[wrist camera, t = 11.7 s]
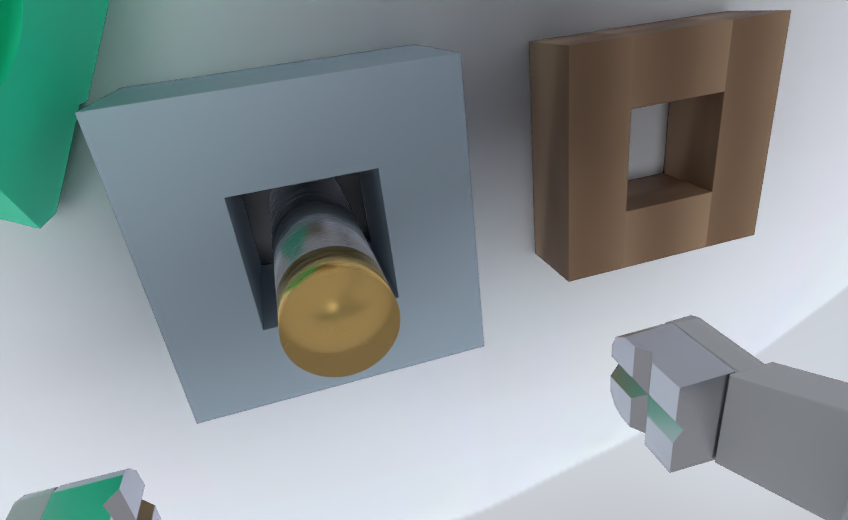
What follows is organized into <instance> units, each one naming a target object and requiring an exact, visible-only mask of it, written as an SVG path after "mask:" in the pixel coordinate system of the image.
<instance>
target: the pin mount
mask: <svg viewBox="0 0 848 520" xmlns="http://www.w3.org/2000/svg"><path fill="white" fill-rule="evenodd" d="M790 13H791V10H775V11H725V12H718V13H712V14H705V15H699V16H692V17H686V18H679V19H673V20H666V21H660V22H653V23H647V24H640V25H634V26H628V27H621V28H615V29H608V30H602V31H595V32H589V33H582V34H576V35H569V36H563V37H556V38H550V39H543V40H537V41H530V42H529V54H530V88H531V122H532V156H533V191H534V225H535V253H536V254H537V255H538V256H539V257H540V258H541V259H543V260H544V261H545V262H546V263H547V264H549V265H550V266H551V267H552V268H553V269H554V270H556V271H557V272H558V273H559V274H560V275H561V276H563V277H564V278H565V279H566V280H567V281H573V280H577V279H581V278H585V277H589V276H593V275H597V274H601V273H605V272H609V271H613V270H617V269H621V268H625V267H629V266H633V265H637V264H641V263H644V262H648V261H652V260H656V259H660V258H664V257H668V256H672V255H676V254H680V253H684V252H688V251H692V250H696V249H700V248H704V247H708V246H712V245H716V244H719V243H723V242H727V241H731V240H735V239H739V238H743V237H747V236H751V235H754V232H755V226H756V220H757V214H758V208H759V202H760V196H761V190H762V184H763V178H764V172H765V166H766V159H767V153H768V147H769V141H770V135H771V129H772V123H773V117H774V111H775V105H776V99H777V92H778V86H779V80H780V74H781V68H782V62H783V56H784V50H785V44H786V38H787V32H788V26H789V19H790ZM666 102H670V103H669V116H668V128H667V140H666V153H665V165H664V173H663V174H658V175H653V176H649V177H644V178H640V179H635V180H631V181H628V162H629V142H630V122H631V109H634V108H640V107H645V106H650V105H655V104H661V103H666Z"/></svg>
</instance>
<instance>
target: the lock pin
mask: <svg viewBox="0 0 848 520" xmlns="http://www.w3.org/2000/svg"><path fill="white" fill-rule="evenodd" d="M269 208H270V221H271V234H272V248H273V261H274V274H275V288H276V301H277V314H278V328H279V337H280V342H281V345H282V347H283V349H284V351H285V353H286V355H287V356H288V357H289V359H290V360H291V361H292V362H293V363H294V364H295V365H297V366H298V367H300V368H301V369H303V370H305V371H307V372H309V373H311V374H314V375H318V376H323V377H345V376H350V375H353V374H357V373H360V372H362V371H364V370H366V369H368V368H370V367H372V366H373V365H375V364H376V363H377V362H379V361H380V360H381V359H382V358H383V357H384V356H385V355H386V354H387V353H388V352H389V350H390V349H391V347H392V346H393V344H394V342H395V340H396V338H397V335H398V333H399V328H400V320H401V318H400V310H399V306H398V303H397V301H396V298H395V296H394V294H393V292H392V290H391V288H390V286H389V284H388V282H387V280H386V278H385V276H384V274H383V272H382V270H381V268H380V266H379V264H378V262H377V260H376V258H375V256H374V254H373V252H372V250H371V248H370V246H369V244H368V242H367V240H366V238H365V236H364V234H363V232H362V230H361V228H360V226H359V224H358V222H357V220H356V218H355V216H354V214H353V212H352V210H351V208H350V206H349V204H348V202H347V200H346V197H345V195H344V193H343V191H342V189H341V187H340V186H339V184H338V182H337V181H336V180H335V178H334V177H330V178H324V179H319V180H314V181H309V182H304V183H298V184H293V185H288V186H283V187H278V188H273V189H271V192H270V196H269Z"/></svg>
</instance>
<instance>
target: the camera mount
mask: <svg viewBox="0 0 848 520" xmlns="http://www.w3.org/2000/svg"><path fill="white" fill-rule="evenodd" d="M108 5H109V0H0V219H3V220H7V221H12V222H16V223H20V224H24V225H28V226H32V227H36V228H41V227H42V226H43V225H44V224H45V223H46V222H47V221H48V220H49V219H50V218H51V217H52V216H53V215H54V214H55V213H56V212H57V207H58V203H59V198H60V193H61V189H62V184H63V179H64V175H65V170H66V165H67V161H68V156H69V151H70V147H71V142H72V138H73V133H74V128H75V124H76V119H77V117H76V115H75V112H77V111H78V110H79V105H80V104H82V103H84V102H86V101H88V96H89V92H90V87H91V82H92V78H93V73H94V69H95V64H96V60H97V55H98V50H99V46H100V41H101V37H102V32H103V28H104V23H105V18H106V14H107V9H108Z"/></svg>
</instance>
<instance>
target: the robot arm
mask: <svg viewBox="0 0 848 520" xmlns="http://www.w3.org/2000/svg"><path fill="white" fill-rule="evenodd" d="M612 357H613V358H614V359H615V360H616V362H617V363H618V366H617V367H616V369H615V370H614V372H613V373H612V375H611V394H612V398H613V401H614V404H615V407H616V408H617V410H618V412H619V414H620V415H621V417H622V418H623V419H624V421H625V422H626V423H627V424H628V425H629V426H630V427H632V428H634V429H637V430H639V431H642V432H644V433H645V445H646V446H647V447H648V449H649V450H650V451H651V452H652V453H653V454H654V455H655V456H656V458H657V459H658V460H659V461H660V462H661V463H662V465H663V466H664V467H665V468H666V469H667V470H668V471H669V472H670V473H671V472H674V471H678V470H681V469H684V468H687V467H691V466H695V465H698V464H702V463H705V462H708V461H712V460H715V462H716V463H717V464H720V465H721V466H723V467H725V468H727V469H729V470H731V471H733V472H735V473H737V474H739V475H741V476H743V477H744V478H746V479H748V480H750V481H752V482H754V483H756V484H758V485H760V486H762V487H764V488H765V489H768V490H769V491H771V492H773V493H775V494H777V495H779V496H781V497H783V498H785V499H787V500H789V501H790V502H793V503H794V504H796V505H798V506H800V507H802V508H804V509H806V510H808V511H810V512H812V513H813V514H816V515H817V516H819V517H821V518H823V519H825V520H848V383H847V382H843V381H840V380H836V379H833V378H829V377H825V376H822V375H818V374H814V373H810V372H807V371H803V370H800V369H796V368H792V367H789V366H785V365H781V364H778V363H774V362H771V363H768V364H764V363H762V362H761V361H759V360H758V359H757V358H755V357H754V356H753V355H751V354H750V353H748V352H747V351H746V350H744V349H743V348H741V347H740V346H739V345H737V344H736V343H734V342H733V341H732V340H730V339H729V338H727V337H726V336H725V335H723V334H722V333H720V332H719V331H718V330H716V329H715V328H713V327H712V326H711V325H709V324H708V323H706V322H705V321H704V320H702V319H701V318H699V317H696V316H692V315H690V316H687V317H683V318H680V319H676V320H673V321H670V322H666V323H665V324H661V325H658V326H654V327H650V328H647V329H643V330H640V331H636V332H632V333H629V334H625V335H622V336H618V337H616V338H615V340H614V342H613V344H612ZM144 487H145V485H144V483H143V481H142V479H141V478H140V476H139V474H138V472H137V470H133V469H125V470H121V471H117V472H113V473H109V474H105V475H101V476H97V477H93V478H89V479H85V480H81V481H77V482H73V483H69V484H65V485H61V486H60V487H55V488H51V489H47V490H43V491H39V492H35V493H31V494H27V495H24V496H23V497H21V498H20V499H19V500H17V501H16V502H15V503H14V505H13V506H12V508H11V510H10V512H9V514H8V516H7V518H6V520H161V517H160V515H159V513H158V511H157V509H156V507H155V505H153V504H151V503H149V502H146V501H144V500H142V495H143V491H144Z"/></svg>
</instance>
